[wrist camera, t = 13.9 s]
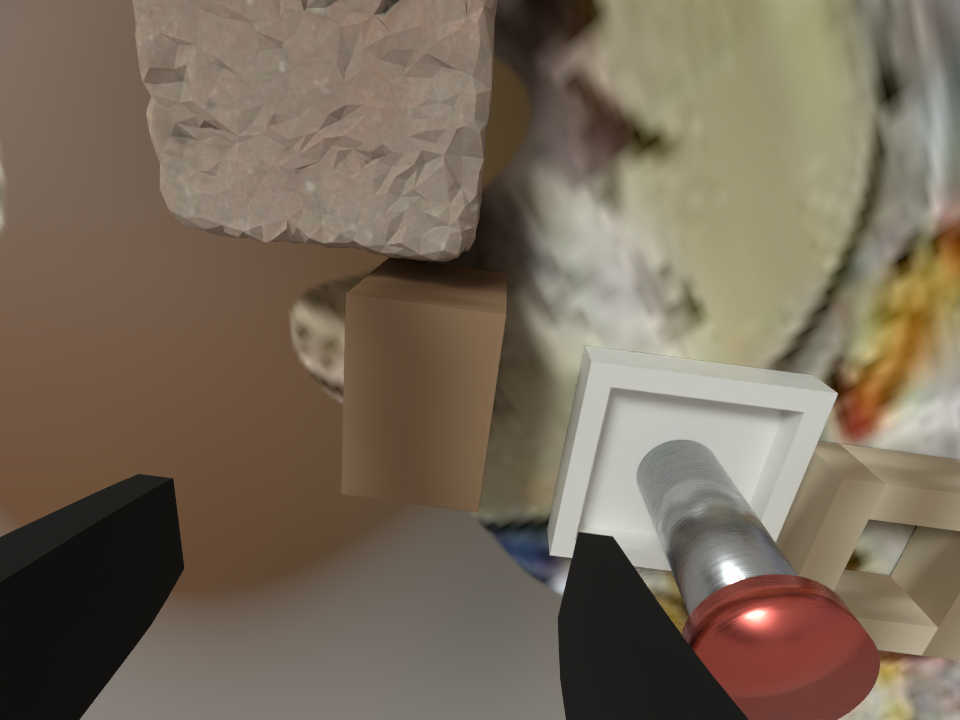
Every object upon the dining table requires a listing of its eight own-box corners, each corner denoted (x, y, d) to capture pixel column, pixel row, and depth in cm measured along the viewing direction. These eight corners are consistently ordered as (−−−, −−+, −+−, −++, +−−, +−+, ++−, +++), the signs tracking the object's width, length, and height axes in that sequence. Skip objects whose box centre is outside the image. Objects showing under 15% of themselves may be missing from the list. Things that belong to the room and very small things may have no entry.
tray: (812, 375, 18) (838, 393, 17) (742, 554, 21) (759, 582, 20) (585, 345, 18) (591, 361, 17) (547, 528, 21) (549, 555, 20)
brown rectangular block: (507, 272, 17) (506, 314, 13) (485, 427, 20) (478, 512, 15) (389, 257, 17) (345, 294, 13) (381, 414, 20) (341, 494, 15)
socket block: (991, 463, 19) (1059, 506, 17) (910, 605, 21) (958, 660, 19) (801, 438, 19) (843, 478, 17) (743, 583, 21) (771, 635, 19)
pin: (755, 454, 19) (919, 650, 11) (693, 533, 20) (802, 754, 13) (660, 410, 18) (765, 584, 11) (602, 494, 20) (661, 699, 12)
